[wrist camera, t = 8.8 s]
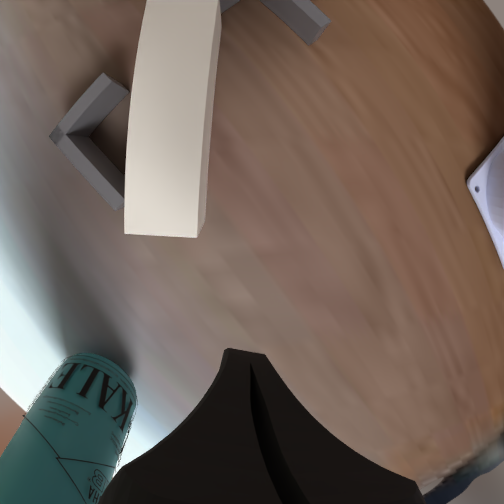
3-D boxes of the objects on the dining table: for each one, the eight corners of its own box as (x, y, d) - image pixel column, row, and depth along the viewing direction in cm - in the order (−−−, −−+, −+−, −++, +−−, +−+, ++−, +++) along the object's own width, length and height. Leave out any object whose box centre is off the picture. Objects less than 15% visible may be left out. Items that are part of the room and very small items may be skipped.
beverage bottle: (86, 404, 22) (6, 602, 3) (55, 338, 20) (-84, 544, 1) (156, 404, 22) (105, 645, 3) (128, 333, 21) (9, 615, 1)
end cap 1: (185, 148, 18) (176, 146, 15) (132, 203, 18) (115, 211, 15) (121, 83, 16) (103, 72, 13) (72, 138, 17) (48, 136, 14)
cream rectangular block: (221, 27, 16) (218, -6, 11) (205, 220, 19) (196, 237, 15) (165, 27, 15) (147, -4, 11) (148, 217, 19) (124, 233, 14)
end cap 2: (317, 39, 16) (331, 20, 13) (263, 80, 17) (268, 65, 14) (251, -20, 15) (254, -44, 12) (196, 18, 15) (190, -4, 12)
